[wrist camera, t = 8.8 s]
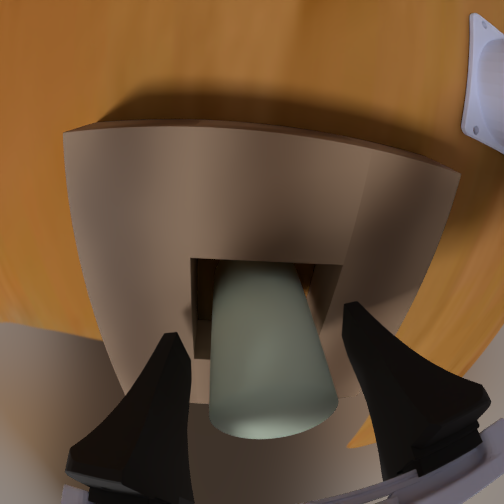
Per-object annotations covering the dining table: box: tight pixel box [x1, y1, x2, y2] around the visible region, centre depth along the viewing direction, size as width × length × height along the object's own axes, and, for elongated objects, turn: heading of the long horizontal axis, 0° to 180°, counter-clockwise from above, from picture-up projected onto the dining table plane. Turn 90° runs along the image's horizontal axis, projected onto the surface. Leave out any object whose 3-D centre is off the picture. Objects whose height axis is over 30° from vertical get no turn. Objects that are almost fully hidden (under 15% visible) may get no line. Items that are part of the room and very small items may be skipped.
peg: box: [209, 259, 338, 439], centre depth 12 cm, size 4×4×8 cm
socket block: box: [63, 119, 461, 404], centre depth 14 cm, size 16×16×3 cm
